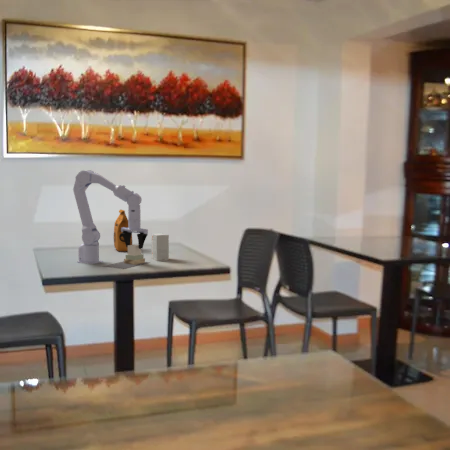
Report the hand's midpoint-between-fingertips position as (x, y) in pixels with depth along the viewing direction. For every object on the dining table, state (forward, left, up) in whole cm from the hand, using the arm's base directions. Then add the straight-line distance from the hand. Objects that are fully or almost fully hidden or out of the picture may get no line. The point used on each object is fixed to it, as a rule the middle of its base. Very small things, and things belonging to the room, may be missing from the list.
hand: (134, 247), depth 279 cm
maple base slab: (0, 0, -7) cm, 7 cm away
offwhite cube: (0, 0, -3) cm, 3 cm away
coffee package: (-32, +30, -8) cm, 45 cm away
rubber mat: (0, -5, -8) cm, 9 cm away
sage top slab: (0, 0, -5) cm, 5 cm away
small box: (+4, +15, -8) cm, 17 cm away
